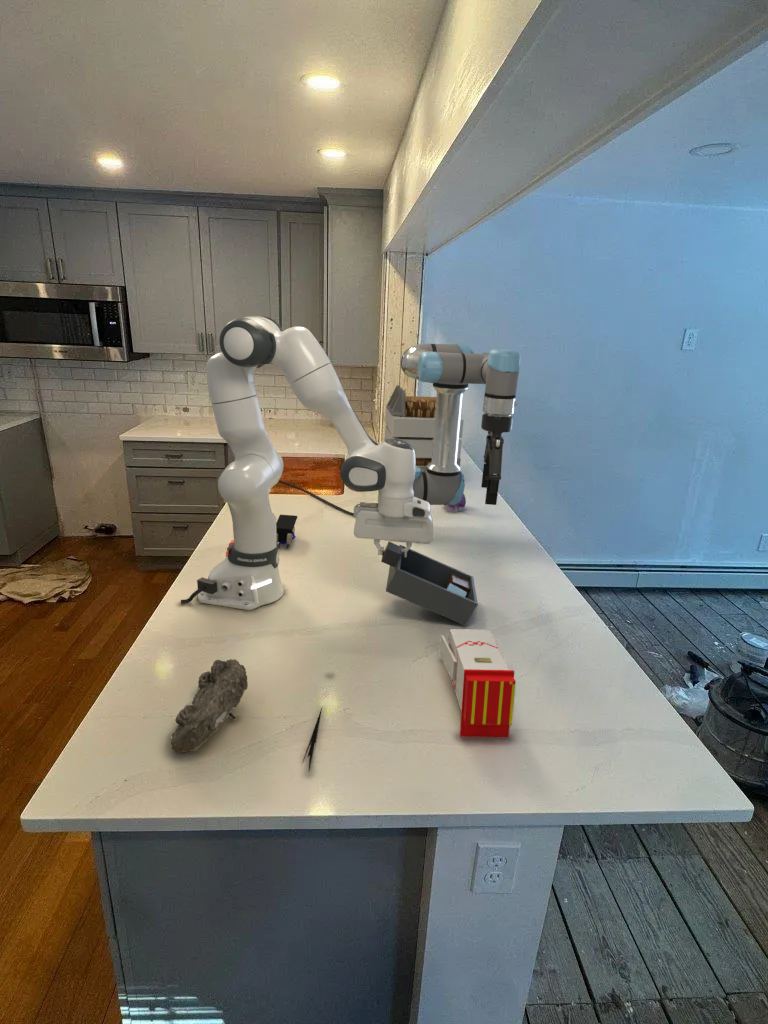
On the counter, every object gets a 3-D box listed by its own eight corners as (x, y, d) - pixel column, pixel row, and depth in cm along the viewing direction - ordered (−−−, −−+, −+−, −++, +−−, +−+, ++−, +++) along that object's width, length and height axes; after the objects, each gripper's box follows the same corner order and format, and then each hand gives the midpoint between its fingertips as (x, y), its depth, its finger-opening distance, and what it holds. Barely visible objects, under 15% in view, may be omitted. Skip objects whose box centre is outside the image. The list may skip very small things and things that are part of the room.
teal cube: (455, 615, 143) (437, 605, 144) (458, 607, 148) (441, 598, 149) (464, 599, 142) (446, 589, 142) (467, 592, 146) (449, 582, 147)
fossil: (195, 660, 117) (247, 628, 112) (227, 691, 120) (279, 661, 115) (146, 746, 98) (206, 711, 93) (185, 779, 101) (245, 748, 96)
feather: (331, 679, 122) (336, 673, 122) (307, 777, 96) (313, 769, 95) (324, 675, 122) (329, 669, 121) (298, 772, 95) (304, 764, 95)
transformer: (381, 463, 289) (385, 382, 275) (444, 464, 292) (450, 384, 279) (389, 482, 257) (393, 392, 243) (459, 483, 261) (467, 394, 247)
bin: (372, 585, 140) (385, 557, 138) (377, 559, 155) (390, 533, 152) (465, 625, 142) (481, 598, 139) (462, 596, 157) (476, 571, 154)
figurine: (452, 514, 221) (455, 477, 216) (438, 506, 229) (441, 470, 224) (472, 511, 225) (475, 475, 220) (457, 503, 234) (460, 468, 229)
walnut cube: (444, 596, 150) (452, 581, 148) (443, 588, 155) (451, 573, 153) (461, 604, 151) (470, 588, 149) (460, 595, 155) (468, 580, 154)
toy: (489, 613, 130) (525, 677, 101) (485, 667, 133) (518, 744, 104) (437, 612, 130) (457, 676, 101) (434, 666, 133) (453, 743, 103)
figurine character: (292, 555, 182) (298, 532, 196) (292, 534, 179) (298, 513, 192) (272, 554, 182) (279, 532, 195) (270, 533, 179) (278, 512, 192)
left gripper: (352, 505, 139) (350, 557, 143) (435, 511, 138) (431, 563, 142) (355, 497, 145) (353, 547, 149) (435, 503, 144) (431, 553, 148)
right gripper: (519, 425, 128) (508, 513, 136) (507, 406, 151) (498, 482, 159) (486, 423, 129) (476, 510, 136) (479, 404, 152) (471, 480, 159)
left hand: (392, 555), depth 146 cm, fingers closed on bin, 4 cm apart
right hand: (488, 495), depth 148 cm, fingers open, 13 cm apart
